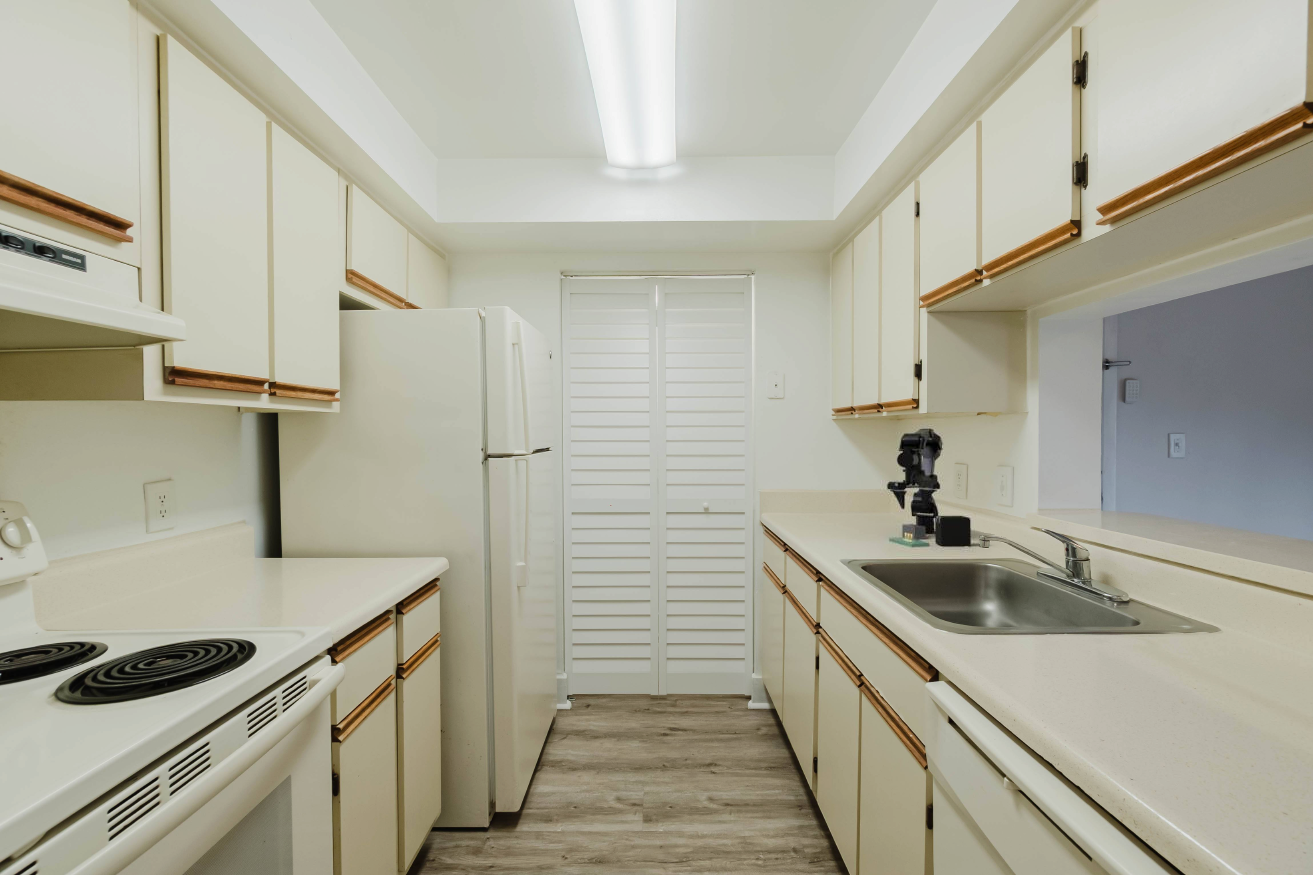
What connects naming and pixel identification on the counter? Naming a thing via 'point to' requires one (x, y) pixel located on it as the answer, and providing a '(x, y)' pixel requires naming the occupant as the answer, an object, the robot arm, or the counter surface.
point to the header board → (909, 541)
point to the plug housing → (914, 531)
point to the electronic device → (952, 531)
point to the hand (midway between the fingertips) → (913, 508)
